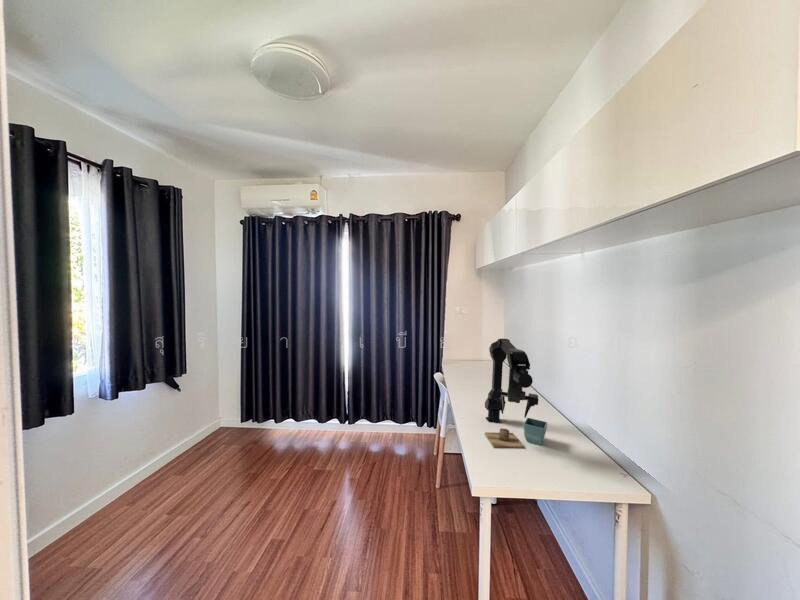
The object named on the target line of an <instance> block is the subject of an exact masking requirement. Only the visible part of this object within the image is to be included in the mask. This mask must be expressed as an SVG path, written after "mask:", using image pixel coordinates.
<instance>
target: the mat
mask: <svg viewBox="0 0 800 600" xmlns="http://www.w3.org/2000/svg"><path fill="white" fill-rule="evenodd" d="M483 435H484V437H485V438H486V440H487V441H488V443H489V444H490V446H491V447H492V449H495V450H497V449H500V450H508V449H509V450H513V449H514V450H526V447H525V446H524V448H494V447H493V445H492V444H491V442H490V441H489V439H488V438H487V436H486V435H485V433H483Z"/></svg>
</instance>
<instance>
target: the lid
mask: <svg viewBox="0 0 800 600" xmlns="http://www.w3.org/2000/svg"><path fill="white" fill-rule="evenodd" d="M484 434H485V435H486V436H487V438H488V439H489V441H490V442H491V444H492V445H493V447H494V448H524V447H525V446H524V444H523V443H522V441H520V439H519V438H518V437H517V436H516V435H515V433H513V432H510V430H509V429H507V428H499V432H488V431H487V432H486V431H485V433H484ZM485 435H484V436H485ZM487 438H486V439H487ZM489 441H488V442H489ZM491 444H490V445H491ZM493 447H492V448H493Z"/></svg>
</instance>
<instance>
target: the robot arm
mask: <svg viewBox="0 0 800 600" xmlns="http://www.w3.org/2000/svg"><path fill="white" fill-rule="evenodd" d="M488 350H489V355H490V357H491V359H492V376H491V379H492V380H491V389H490V391H489V392H488V395H487V398H486V400H485V402H484V408H485V409H486V410H487V416H486V417H485V419H486V421H487V422H488V423H493V424H494V423H497V424H498V423H501V424H502V420H501V419H500V414H501V415H503V414H504V411H505V406H506V400H505V399H506V398H507V402H509V403H516V404H520V402H521V401H527V402H526V405H525V411H524V417H523V418H524V419H527V415H528V413H529V411H530V409H531V408H532V407H535V405H536V406H538V405H539V395H538V394H535V393H528V395H526V391H524V390H523V388H525V389H527V388H530V387H532V384H533V377H532V375H531V374H529V370H530V369H531V362H530V359H529V357H528V355H527V353H526V352H525V351H524V350H522V349H518V348H517V347H516V346H515V345H514V344H513V343H512V342H511V340H510V339H508V338H498V339H497V340H496V341H494V342H492V343H491V344H490V346H489V349H488ZM506 359H507V363H508V367H509V371H508V373H509V374H508V385H507V386H508V388H507V391H503V389H502V386H503V385H502V384H503V364H504V361H506Z"/></svg>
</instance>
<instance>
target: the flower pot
mask: <svg viewBox="0 0 800 600" xmlns="http://www.w3.org/2000/svg"><path fill="white" fill-rule="evenodd" d="M523 422H524V423H523V433H524V434H523V436H524V438H525V440H526V442H527V443H530V444H534V445H536V446H540V445H541V444H542V443H543V440H544V439H545V437H546V432H547V428H548V421H543V420H540V419H535V418H532V417H526V418H525V421H523Z"/></svg>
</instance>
